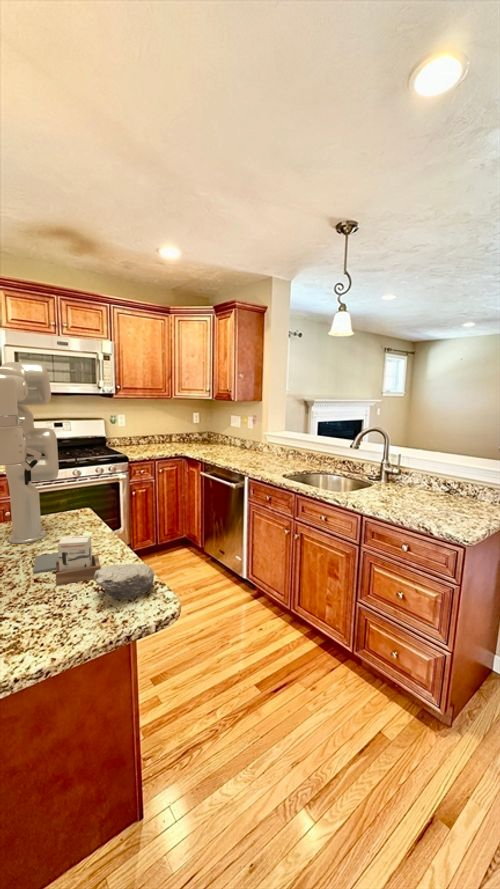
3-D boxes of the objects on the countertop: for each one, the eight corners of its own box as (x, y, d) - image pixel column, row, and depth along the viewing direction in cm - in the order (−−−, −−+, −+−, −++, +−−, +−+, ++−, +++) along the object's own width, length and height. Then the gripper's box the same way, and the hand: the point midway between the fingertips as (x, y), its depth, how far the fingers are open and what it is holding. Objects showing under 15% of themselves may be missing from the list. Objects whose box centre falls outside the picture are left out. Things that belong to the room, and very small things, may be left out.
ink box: (59, 580, 110) (57, 542, 109) (63, 572, 115) (61, 536, 114) (89, 577, 112) (88, 540, 111) (92, 569, 117) (91, 534, 116)
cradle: (56, 571, 116) (56, 560, 115) (98, 563, 121) (97, 554, 121) (56, 586, 107) (55, 574, 107) (100, 577, 112) (100, 566, 112)
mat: (35, 558, 124) (35, 556, 124) (74, 552, 130) (74, 550, 130) (33, 574, 114) (33, 571, 114) (75, 566, 119) (75, 564, 119)
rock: (157, 599, 105) (163, 569, 103) (98, 616, 95) (102, 584, 92) (143, 576, 113) (147, 548, 111) (86, 590, 103) (90, 559, 100)
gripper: (40, 420, 103) (43, 479, 105) (-37, 421, 95) (-31, 485, 97) (38, 422, 96) (42, 485, 99) (-44, 423, 89) (-38, 492, 91)
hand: (6, 485), depth 98 cm, fingers open, 9 cm apart
